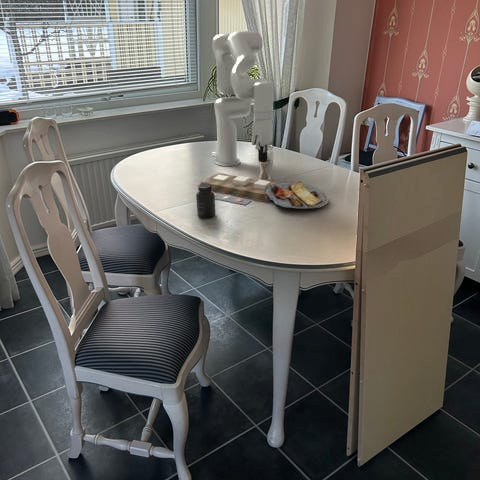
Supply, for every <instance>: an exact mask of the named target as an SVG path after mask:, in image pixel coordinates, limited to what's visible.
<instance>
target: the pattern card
mask: <svg viewBox="0 0 480 480" xmlns="http://www.w3.org/2000/svg"><path fill="white" fill-rule="evenodd" d="M214 195H215V200H217V201H222V202H226V203H231V204H232V203H233V204H237V205H241V206H247V205H248V204H250V203H252V199H251V200H250V199H248V198H243V197H238V196H237V197H236V196H233V195H228V194H223V193H218V192H214Z"/></svg>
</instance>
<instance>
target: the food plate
mask: <svg viewBox="0 0 480 480" xmlns="http://www.w3.org/2000/svg"><path fill="white" fill-rule="evenodd" d="M275 183H276V184H273V185H271V186H268V188H267V189H266V191H265V192H266V193H267V195H268V196H269V197H270V198H271V201H273V203H274V204H275V205H278V206H280V207H282V208H291V209H292V208H293V209H303V210H305V209H315V208H321V207H323V206H325V205H327V204H328V202H329V197H328V195H327V194H326V193H325V192H323V191H322V190H320V189H318V187H314V186H312V185H309V184H304V183H302V181H300V180H299V181H297V182H292V181H291V182H285V181H284V182H275Z"/></svg>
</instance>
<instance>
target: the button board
mask: <svg viewBox="0 0 480 480" xmlns="http://www.w3.org/2000/svg"><path fill="white" fill-rule="evenodd" d="M218 175H224V176H229V180H227V181H225V182H224V183H223V182H218V181H213V178H214V177H216V176H218ZM238 176H239V175H234V174H226V173H222V172H217V173H215V174H212V175H211V176H210V177H207V178H205V179H203V180H201V181H200V184H204V183H207V184H211V188H212V190H211V191H212V192H215V193H220V194H224V195H229V196H234V197H236V196H237V197H239V198H244V199H249V200H250V199H251V200H257V201H262V202H265V203H269V201H272V199H271V198H270V197H269V196H268V195H267V193H266V192H265V191H266V190H260V189H255V188H254V183H255V182H257V181H258V180H259V179H255V178H250V183H249V184H247V185H245V186H239V185H234V184H233V179H234V178H236V177H238ZM270 182H271V185H273V184H276V183H277V182H272V181H270Z"/></svg>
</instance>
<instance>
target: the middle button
mask: <svg viewBox="0 0 480 480" xmlns="http://www.w3.org/2000/svg"><path fill="white" fill-rule="evenodd" d="M237 176H238V177H236V178H234V179H233V184H234V185H239V186H245V185H247V184H249V183H250V179H251V178H250V177H246V176H241V175H237Z"/></svg>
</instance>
